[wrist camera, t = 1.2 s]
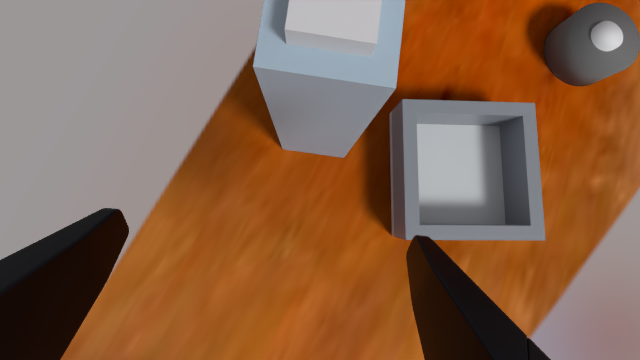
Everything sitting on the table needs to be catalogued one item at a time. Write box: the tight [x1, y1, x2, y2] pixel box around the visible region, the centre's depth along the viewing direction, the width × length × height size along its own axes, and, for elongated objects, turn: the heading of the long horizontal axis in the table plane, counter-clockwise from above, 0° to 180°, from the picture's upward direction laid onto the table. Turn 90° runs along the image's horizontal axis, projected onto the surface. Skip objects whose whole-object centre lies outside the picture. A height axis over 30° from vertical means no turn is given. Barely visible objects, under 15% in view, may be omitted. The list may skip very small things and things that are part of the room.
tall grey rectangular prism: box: [253, 0, 405, 158], centre depth 16 cm, size 5×5×14 cm
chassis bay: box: [389, 99, 545, 240], centre depth 21 cm, size 10×10×3 cm
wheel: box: [544, 3, 640, 86], centre depth 24 cm, size 6×6×3 cm
